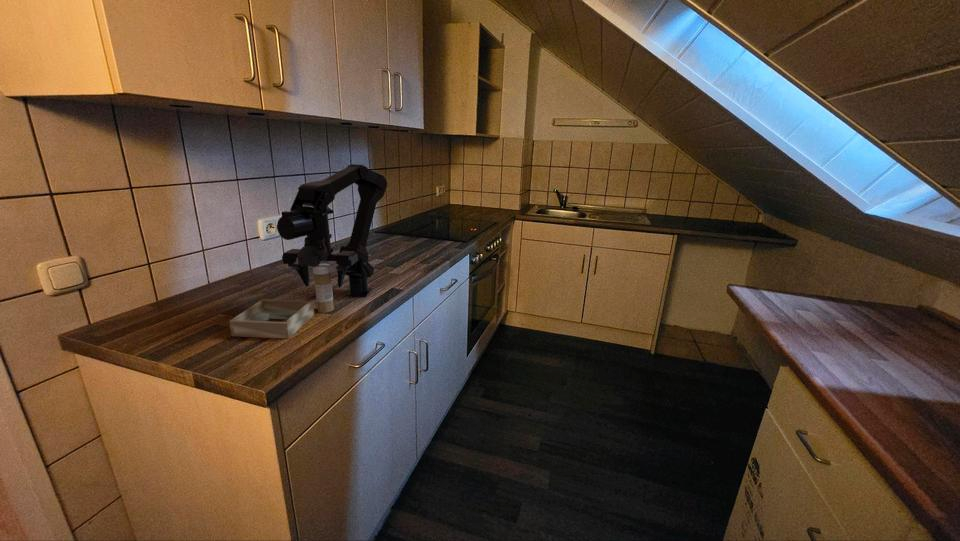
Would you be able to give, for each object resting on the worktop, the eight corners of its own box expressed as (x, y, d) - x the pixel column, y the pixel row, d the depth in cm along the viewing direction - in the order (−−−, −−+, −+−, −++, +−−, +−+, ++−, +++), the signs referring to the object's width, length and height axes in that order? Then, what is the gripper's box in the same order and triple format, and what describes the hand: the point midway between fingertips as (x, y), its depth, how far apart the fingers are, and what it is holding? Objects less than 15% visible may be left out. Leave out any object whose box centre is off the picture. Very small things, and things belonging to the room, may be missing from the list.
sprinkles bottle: (331, 305, 110) (327, 262, 106) (336, 311, 107) (332, 266, 103) (315, 309, 108) (310, 264, 103) (320, 314, 104) (315, 269, 100)
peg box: (264, 312, 105) (262, 299, 103) (314, 314, 104) (312, 301, 103) (231, 336, 91) (229, 321, 90) (289, 338, 91) (286, 323, 90)
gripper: (266, 237, 93) (275, 296, 98) (341, 240, 92) (346, 299, 97) (289, 228, 103) (296, 281, 108) (356, 231, 103) (360, 284, 108)
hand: (323, 286), depth 105 cm, fingers open, 9 cm apart
